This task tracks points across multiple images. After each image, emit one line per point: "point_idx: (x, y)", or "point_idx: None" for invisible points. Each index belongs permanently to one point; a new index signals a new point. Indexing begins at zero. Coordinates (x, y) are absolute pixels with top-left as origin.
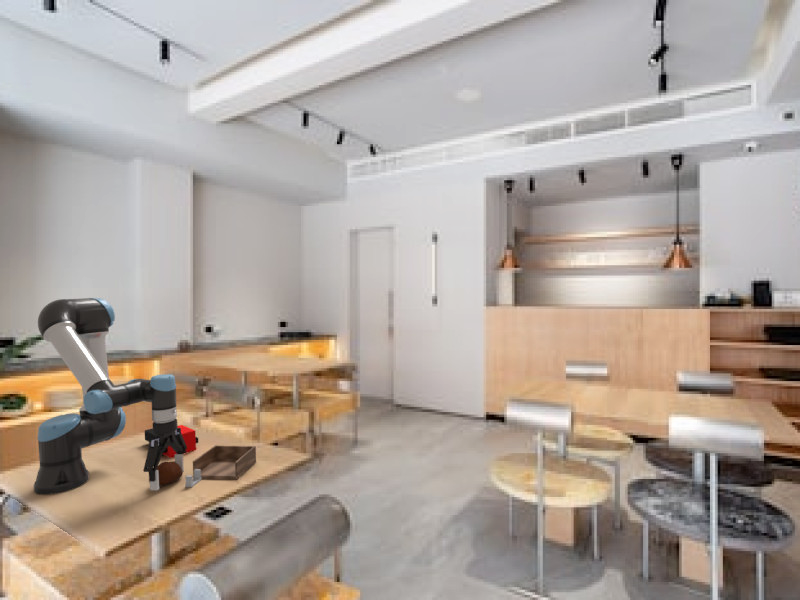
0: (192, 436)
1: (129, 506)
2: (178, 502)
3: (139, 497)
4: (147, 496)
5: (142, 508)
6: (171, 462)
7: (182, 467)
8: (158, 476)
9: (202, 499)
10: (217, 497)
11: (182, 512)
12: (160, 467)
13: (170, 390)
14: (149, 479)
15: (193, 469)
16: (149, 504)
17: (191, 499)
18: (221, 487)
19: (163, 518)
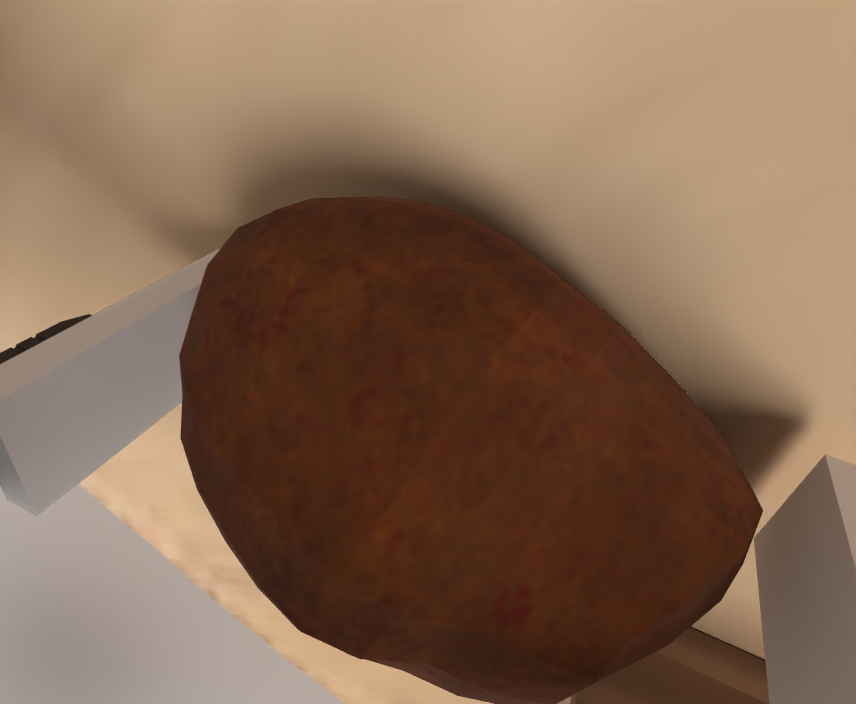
0: None
1: (17, 113)
2: (176, 475)
3: (170, 130)
4: (204, 219)
5: (43, 258)
6: (425, 675)
7: (768, 616)
8: (128, 440)
9: (232, 582)
10: (263, 637)
11: (99, 494)
12: (211, 510)
13: None
14: (50, 334)
15: (575, 694)
16: (101, 293)
17: (223, 538)
18: (380, 681)
19: None
